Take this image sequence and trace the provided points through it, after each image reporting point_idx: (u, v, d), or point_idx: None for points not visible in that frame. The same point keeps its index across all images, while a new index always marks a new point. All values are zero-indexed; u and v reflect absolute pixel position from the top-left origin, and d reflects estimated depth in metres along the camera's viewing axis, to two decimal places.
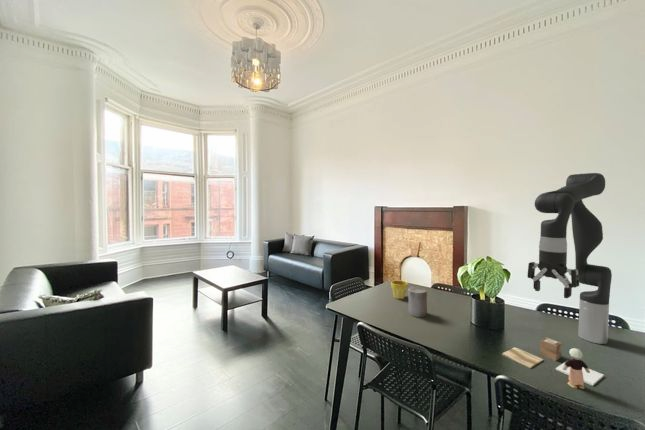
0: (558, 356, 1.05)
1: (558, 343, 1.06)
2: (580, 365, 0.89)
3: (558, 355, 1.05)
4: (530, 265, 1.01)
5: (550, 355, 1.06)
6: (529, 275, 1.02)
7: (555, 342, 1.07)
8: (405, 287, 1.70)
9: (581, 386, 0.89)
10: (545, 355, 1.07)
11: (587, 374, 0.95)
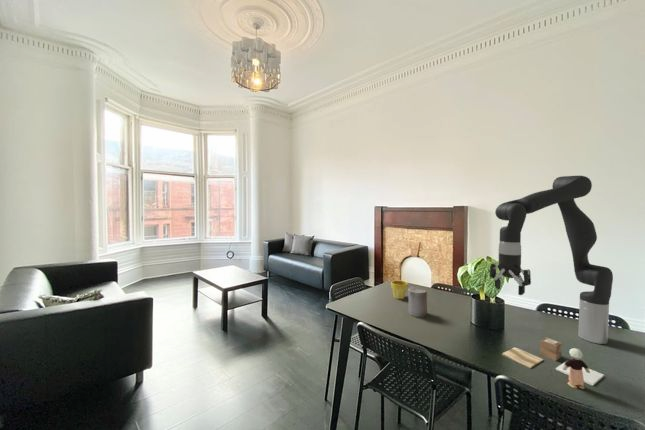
0: (558, 356, 1.05)
1: (558, 343, 1.06)
2: (580, 365, 0.89)
3: (558, 355, 1.05)
4: (492, 266, 1.15)
5: (550, 355, 1.06)
6: (491, 275, 1.15)
7: (555, 342, 1.07)
8: (405, 287, 1.70)
9: (581, 386, 0.89)
10: (545, 355, 1.07)
11: (587, 374, 0.95)
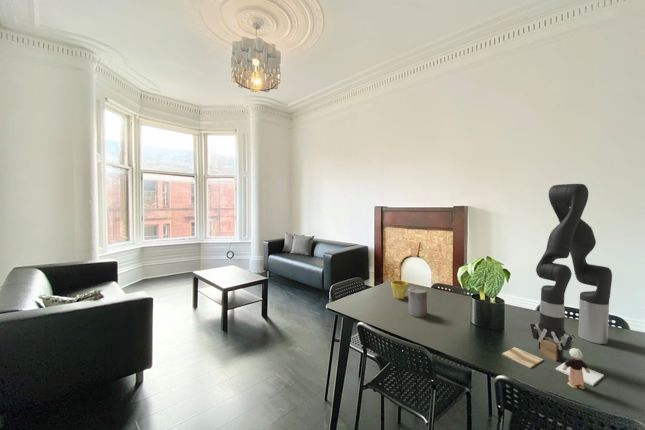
0: None
1: None
2: (580, 365, 0.89)
3: None
4: (532, 326, 1.12)
5: (550, 355, 1.06)
6: (534, 336, 1.11)
7: None
8: (405, 287, 1.70)
9: (581, 386, 0.89)
10: (545, 355, 1.07)
11: (587, 374, 0.95)
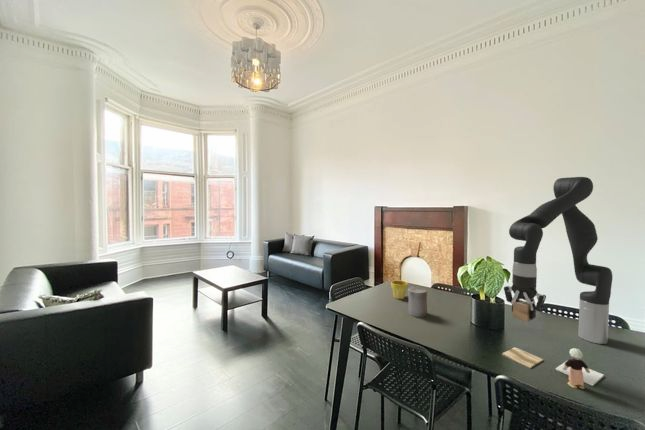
0: None
1: None
2: (580, 365, 0.89)
3: None
4: (505, 289, 1.10)
5: (522, 316, 1.04)
6: (507, 299, 1.09)
7: None
8: (405, 287, 1.70)
9: (581, 386, 0.89)
10: (517, 317, 1.05)
11: (587, 374, 0.95)
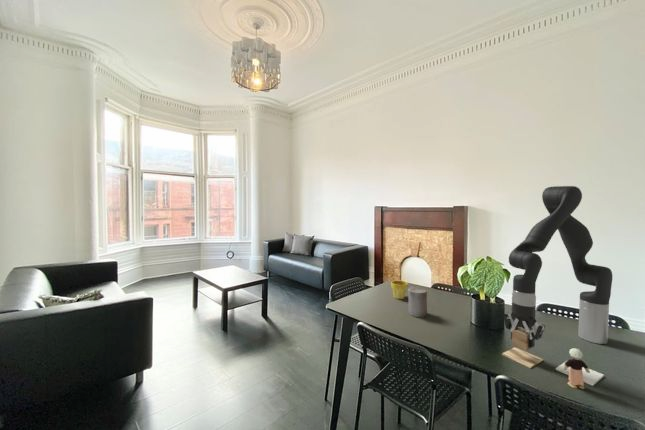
0: None
1: None
2: (580, 365, 0.89)
3: None
4: (505, 316, 1.11)
5: (521, 345, 1.04)
6: (507, 326, 1.10)
7: None
8: (405, 287, 1.70)
9: (581, 386, 0.89)
10: (517, 345, 1.06)
11: (587, 374, 0.95)
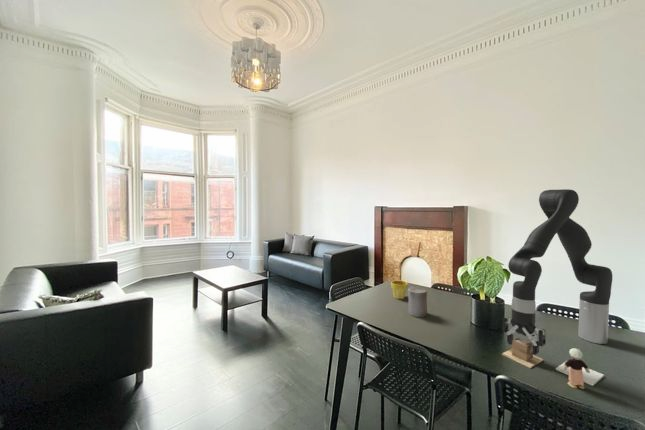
0: (529, 356, 1.04)
1: (529, 343, 1.05)
2: (580, 365, 0.89)
3: (529, 355, 1.04)
4: (504, 320, 1.11)
5: (521, 356, 1.05)
6: (503, 329, 1.11)
7: (527, 342, 1.06)
8: (405, 287, 1.70)
9: (581, 386, 0.89)
10: (517, 355, 1.06)
11: (587, 374, 0.95)
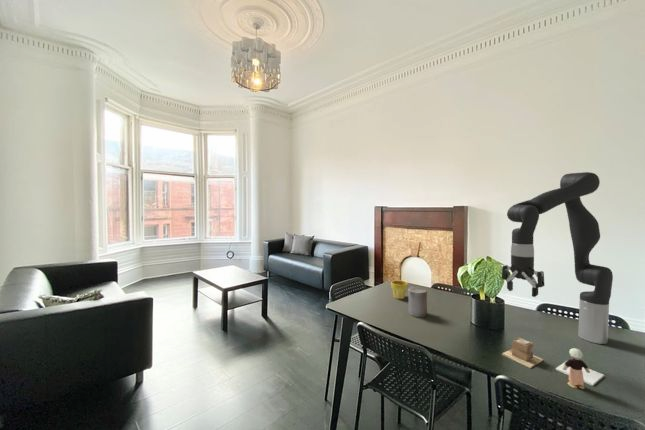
0: (529, 356, 1.04)
1: (529, 343, 1.05)
2: (580, 365, 0.89)
3: (529, 355, 1.04)
4: (504, 268, 1.14)
5: (521, 356, 1.05)
6: (503, 277, 1.15)
7: (527, 342, 1.06)
8: (405, 287, 1.70)
9: (581, 386, 0.89)
10: (517, 355, 1.06)
11: (587, 374, 0.95)
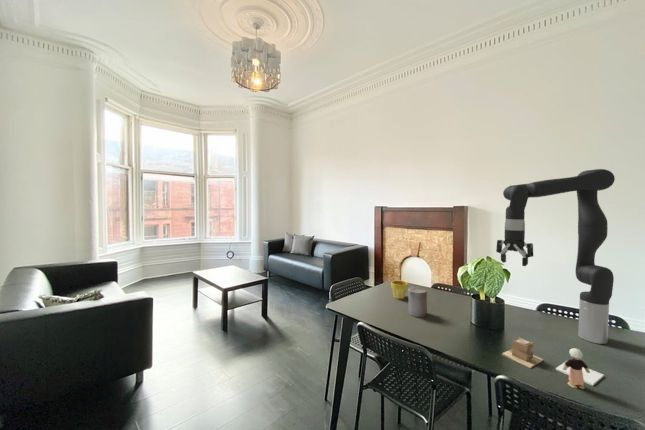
0: (529, 356, 1.04)
1: (529, 343, 1.05)
2: (580, 365, 0.89)
3: (529, 355, 1.04)
4: (498, 242, 1.28)
5: (521, 356, 1.05)
6: (497, 250, 1.29)
7: (527, 342, 1.06)
8: (405, 287, 1.70)
9: (581, 386, 0.89)
10: (517, 355, 1.06)
11: (587, 374, 0.95)
